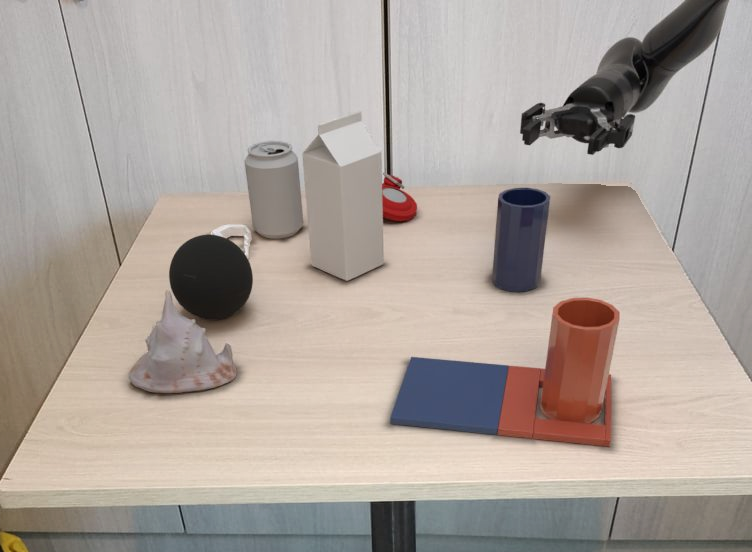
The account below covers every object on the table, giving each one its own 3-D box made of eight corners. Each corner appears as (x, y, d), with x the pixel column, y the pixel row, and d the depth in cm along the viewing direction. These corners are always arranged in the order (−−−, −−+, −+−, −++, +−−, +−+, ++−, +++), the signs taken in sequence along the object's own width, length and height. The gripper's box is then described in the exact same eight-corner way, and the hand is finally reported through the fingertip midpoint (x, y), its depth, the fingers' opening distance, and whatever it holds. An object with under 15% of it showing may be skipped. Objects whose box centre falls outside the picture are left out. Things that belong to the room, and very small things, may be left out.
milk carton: (384, 264, 111) (381, 116, 98) (346, 282, 107) (338, 131, 95) (348, 250, 115) (341, 105, 102) (311, 266, 111) (298, 119, 98)
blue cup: (541, 271, 108) (551, 188, 100) (538, 293, 103) (548, 208, 96) (494, 268, 109) (501, 186, 102) (489, 290, 104) (496, 205, 97)
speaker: (181, 340, 97) (165, 262, 91) (174, 303, 105) (158, 227, 98) (263, 327, 99) (253, 249, 92) (250, 291, 106) (240, 216, 100)
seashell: (146, 347, 96) (128, 274, 90) (245, 348, 96) (234, 273, 89) (122, 395, 89) (100, 318, 83) (229, 396, 88) (216, 319, 82)
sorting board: (609, 380, 88) (611, 374, 88) (609, 446, 79) (611, 440, 79) (411, 362, 92) (411, 356, 92) (390, 424, 83) (390, 417, 83)
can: (284, 244, 117) (275, 159, 109) (243, 234, 120) (231, 150, 112) (313, 225, 121) (307, 142, 113) (273, 216, 124) (264, 134, 116)
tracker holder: (429, 211, 121) (368, 206, 117) (419, 237, 124) (360, 233, 120) (404, 166, 127) (345, 160, 124) (395, 192, 131) (338, 186, 127)
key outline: (268, 263, 112) (266, 251, 111) (233, 270, 111) (231, 258, 110) (241, 228, 121) (240, 217, 120) (209, 235, 120) (207, 223, 119)
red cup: (601, 394, 86) (619, 299, 79) (600, 429, 82) (619, 332, 74) (542, 388, 87) (554, 294, 80) (538, 422, 83) (551, 326, 75)
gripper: (553, 71, 114) (509, 103, 104) (654, 82, 109) (618, 117, 98) (546, 127, 119) (504, 163, 109) (643, 140, 114) (608, 180, 104)
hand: (558, 141), depth 104 cm, fingers open, 8 cm apart
